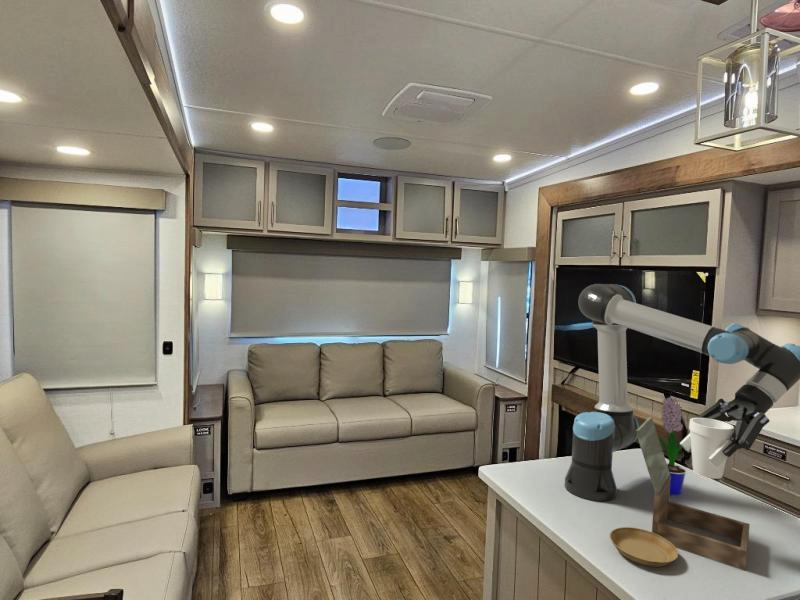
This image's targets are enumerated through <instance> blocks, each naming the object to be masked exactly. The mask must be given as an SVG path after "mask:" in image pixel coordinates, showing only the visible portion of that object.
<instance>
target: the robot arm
mask: <svg viewBox="0 0 800 600" xmlns="http://www.w3.org/2000/svg"><path fill="white" fill-rule="evenodd" d="M577 301H578V303H577V304H578V308H579V311H580V312H581V314H583V316H585V317H586V318H588V319H590V320H592V326H593V327H594V328H595V329H596V330H597V355H598V356H597V358H598V360H597V361H598V396H599V401H598V402H597V403H596V404H595V405H594V411H590V412H588V411H586V412H585V411H584V412H580V413H579V414H577V415H576V416H575V418H574V421H573V425H572V449H571V463H570V464H569V468H568V470H567V473H566V474H565V477H564V488H565V489H566V490H567V491H568V492H569V493H570V494H573V495H575V496H577V497H580V498H582V499H586V500H590V501H597V502H599V501H600V502H602V501H603V502H605V501H611V500H614V499H615V498H617V491H618V489H617V484H616V481H615V477H614V473H613V469H612V466H613V453H615V452H616V451H619V450H621V449H626V448H628V447H630V446H631V445H632V444H633V443H635V442H636V440H638V437H637V434H636V430H637V429H638V428H639V427H640V425H639V422H638V419H637V418H636V417H635V415H634V408H633V407H632V406H631V405H630V403H629V401H628V400H629V398H628V368H627V367H628V361H627V357H628V356H627V332H626V331H627V329H630V330H633V331H637V332H639V333H642V334H645V335H648V336H652V337H654V338H657V339H659V340H663V341H666V342H669V343H671V344H674V345H677V346H680V347H682V348H686V349H689V350H693V351H695V352H698V353H701V354H703V355H706V356H709V357H711V358H712V359H713V360H714V361H715V362H718V363H720V364H726V365H733V364H737V363H741V362H742V361H745V362H746V363H748V364H750V365H752V366H753V367H755V368H756V369H758V370H757V371H756V372H755V373H754V374H753V375H752V376H750V378H749V379H748V380H746V381H745V384H743V385H742V386H741V387H740V388H738V390H737V391H736V392H735V393H734V399H731V400H730V401H729V402H728V401H725V400H724V399H723V398H720V399H718V400H717V401H716V403H715V404H713V405H712V406H710V407H709V408H708V409H706V410H705V411H703V412H702V413H700V414H698V416H696V417H695V418H708V419H714V420H718V421H723V422H726V423H728V422H732V421H734V422H736V423H735V426H734V431H733V436H732V438H731V439H730V438H729V439H730V440H731V442H730V441H729V440H726V441H725V442H724V443H723V444H722V445H721V446H720V447H719V448H718V449H717V450H716V451H715V452H714V453H713V454H712V455H711V456H710V457H709V459H710V461H711V462H712V463H713V464H714V465H715V466H716V467H718V466H719V465H720V464H721V463H722V462H723V461H724V460H725V459H726V458H730V457H732V456H733V454H734V453H736V452H737V450H740V449H744V450H746V451H748V450H750V449H751V448H752V446H753V445H754V442H755V441H756V439H758V436H760V435H759V434H760V433H761V432H762V430H763V428H764V427H765V426H766V425H767V424H768V423H769V422H771V421H770V419H769V418H768V416H767V415H766V413H767V412H768V411H769V410H770V409H771V408H772V407H773V406H774V404H776V403H777V402H779V400H780V399H781V398H782V397H783V395H785V394H786V393H787V392H788V391H789V390H790V389H791V388H792V387H793V386H794V385H796V384H797V382H798V381H800V345H796V344H795V343H785V344H784V345H781V346H779V345H778V344H775V343H774V342H772V341H769V339H767V338H765V337H763V336H761V335H759V334H758V333H756V332H755V331H753V330H751V329H750V328H749V327H745V326H743V325H741V324H740V323H737V322H736V323H735V322H734V323H731V324H730V325H728V326H727V327H726V328H724V329H722V328H718V327H715V326H713V325H709V324H705V323H704V322H699V321H697V320H693V319H689V318H686V317H682V316H679V315H677V314H676V315H675V314H672V313H669V312H666V311H663V310H660V309H656V308H652V307H650V306H646V305H643V304H640V303H637V301H636V296H635V295H634V293H633V291H631V290H630V289H629V288H628V287H626V286H623V285H621V284H617V283H615V284H614V283H609V284H608V283H604V284H603V283H594V284H590V285H589V286H587V287H584V289H583V290H582V291H581V292H580V294H579V296H578V300H577ZM680 444H681V446H682V447H683V448H682V449H684V450H685V451H686V452H688V451H690V450H691V437H690V431H689V432H687V435H686V436H685V437H684V438H683V439H682V440H681V441H680V442H679V445H680ZM726 460H727V459H726Z"/></svg>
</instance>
